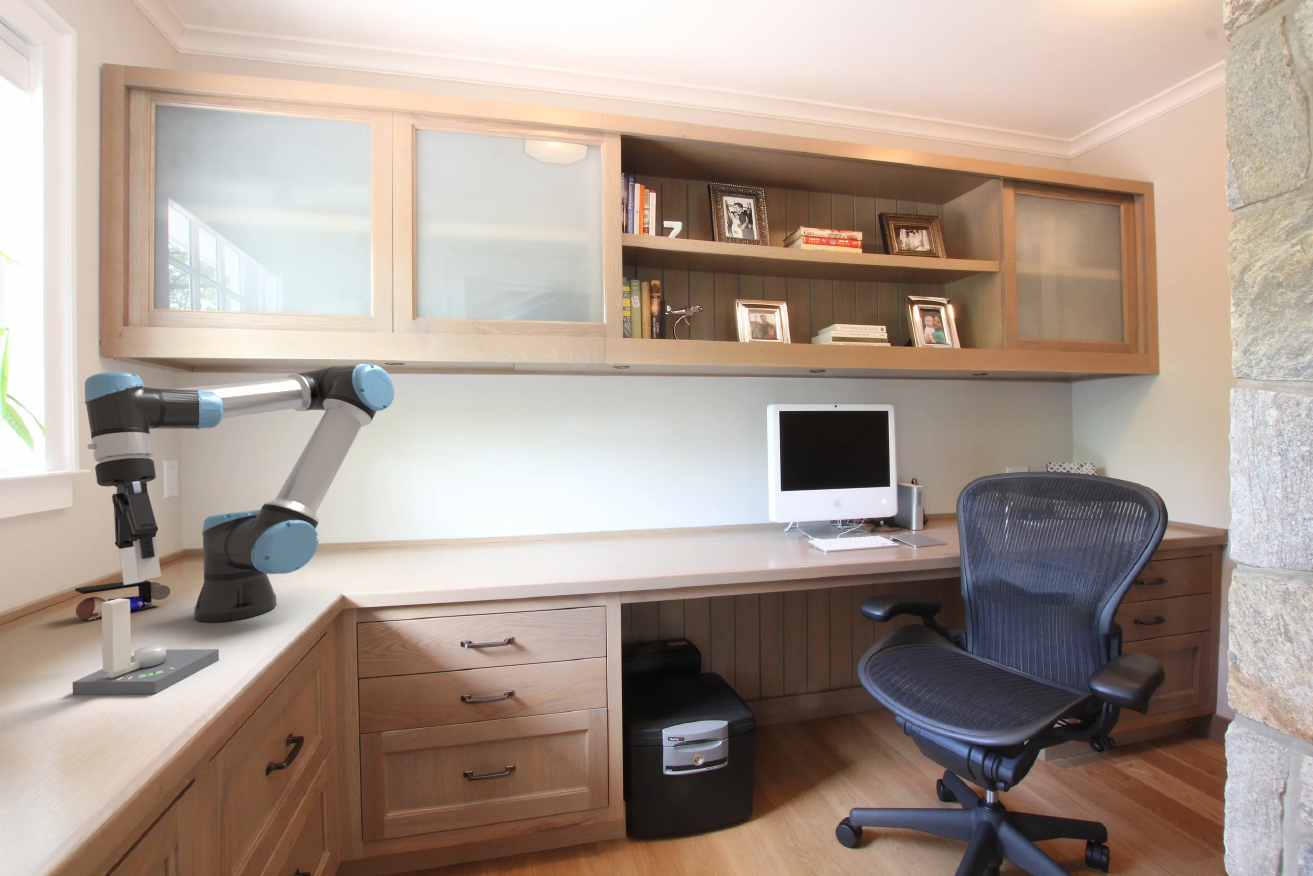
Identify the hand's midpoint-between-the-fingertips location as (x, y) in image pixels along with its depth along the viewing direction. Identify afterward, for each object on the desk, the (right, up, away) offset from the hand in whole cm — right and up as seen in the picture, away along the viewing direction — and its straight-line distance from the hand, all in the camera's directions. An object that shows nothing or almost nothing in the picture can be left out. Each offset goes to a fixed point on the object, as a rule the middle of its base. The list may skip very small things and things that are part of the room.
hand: (141, 581), depth 96 cm
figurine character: (-34, -16, +32) cm, 50 cm away
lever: (+2, -14, -3) cm, 14 cm away
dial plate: (+3, -16, -1) cm, 16 cm away
